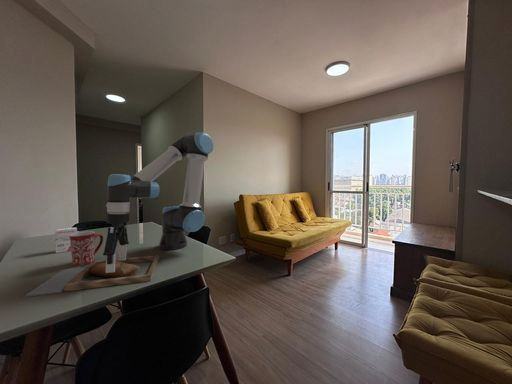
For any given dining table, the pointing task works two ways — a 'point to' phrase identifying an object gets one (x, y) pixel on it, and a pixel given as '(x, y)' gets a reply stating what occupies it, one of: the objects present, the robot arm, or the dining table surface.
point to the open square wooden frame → (77, 285)
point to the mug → (84, 247)
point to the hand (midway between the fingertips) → (116, 266)
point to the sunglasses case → (120, 270)
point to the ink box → (63, 239)
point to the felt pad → (55, 283)
